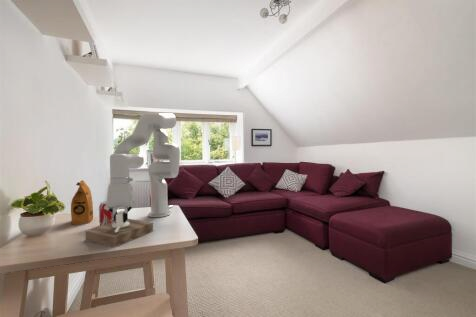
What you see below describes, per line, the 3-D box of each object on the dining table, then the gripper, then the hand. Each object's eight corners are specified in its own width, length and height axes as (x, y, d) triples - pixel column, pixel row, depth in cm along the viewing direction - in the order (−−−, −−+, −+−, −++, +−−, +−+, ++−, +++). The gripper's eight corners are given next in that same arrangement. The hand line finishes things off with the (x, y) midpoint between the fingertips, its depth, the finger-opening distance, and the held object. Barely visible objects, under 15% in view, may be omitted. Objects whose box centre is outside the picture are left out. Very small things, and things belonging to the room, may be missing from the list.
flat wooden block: (126, 226, 115) (126, 217, 115) (153, 231, 108) (152, 222, 108) (85, 240, 97) (85, 230, 97) (114, 247, 90) (114, 236, 90)
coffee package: (67, 226, 116) (66, 183, 116) (74, 219, 128) (73, 180, 127) (90, 223, 120) (89, 182, 119) (95, 217, 132) (94, 179, 131)
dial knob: (114, 224, 105) (113, 211, 105) (130, 222, 107) (130, 210, 107) (106, 233, 92) (105, 219, 92) (125, 232, 94) (124, 217, 94)
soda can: (108, 228, 113) (107, 204, 112) (96, 227, 114) (95, 203, 114) (118, 223, 120) (117, 200, 119) (106, 223, 121) (106, 200, 121)
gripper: (140, 179, 108) (141, 217, 109) (101, 181, 103) (102, 221, 103) (139, 181, 101) (139, 222, 102) (97, 183, 96) (98, 226, 96)
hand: (120, 221), depth 102 cm, fingers closed on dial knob, 2 cm apart
